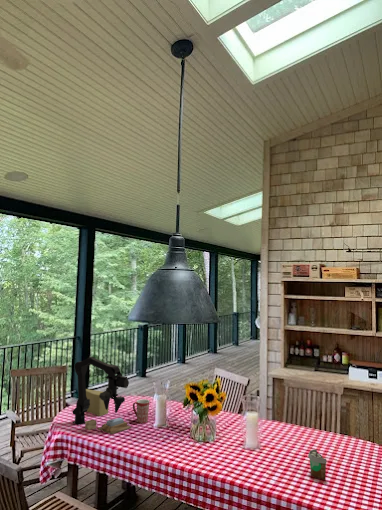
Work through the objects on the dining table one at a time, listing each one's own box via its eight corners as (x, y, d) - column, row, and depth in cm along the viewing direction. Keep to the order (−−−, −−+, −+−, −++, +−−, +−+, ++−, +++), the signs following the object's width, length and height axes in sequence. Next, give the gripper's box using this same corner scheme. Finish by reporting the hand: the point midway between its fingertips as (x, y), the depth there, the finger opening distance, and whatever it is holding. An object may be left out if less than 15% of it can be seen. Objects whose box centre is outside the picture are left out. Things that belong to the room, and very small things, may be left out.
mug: (151, 421, 268) (152, 400, 269) (143, 424, 260) (143, 403, 262) (137, 417, 275) (138, 397, 276) (128, 421, 267) (129, 400, 269)
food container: (304, 469, 200) (304, 448, 201) (316, 469, 200) (316, 448, 201) (314, 481, 188) (313, 459, 188) (326, 481, 188) (326, 459, 189)
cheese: (76, 411, 286) (77, 389, 288) (86, 408, 295) (87, 387, 296) (99, 417, 275) (99, 394, 276) (108, 413, 283) (109, 391, 284)
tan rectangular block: (85, 428, 251) (85, 421, 252) (92, 426, 255) (92, 419, 256) (88, 430, 249) (89, 422, 249) (96, 428, 253) (96, 420, 253)
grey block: (106, 428, 250) (106, 420, 251) (119, 424, 258) (119, 416, 258) (110, 430, 247) (110, 421, 248) (123, 426, 255) (123, 418, 255)
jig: (97, 429, 251) (97, 424, 251) (117, 423, 263) (117, 418, 263) (111, 434, 242) (112, 429, 242) (131, 428, 254) (131, 423, 254)
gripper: (93, 385, 254) (91, 410, 253) (112, 391, 243) (110, 417, 241) (107, 382, 263) (105, 407, 262) (125, 388, 251) (124, 413, 250)
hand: (111, 411), depth 253 cm, fingers open, 9 cm apart
